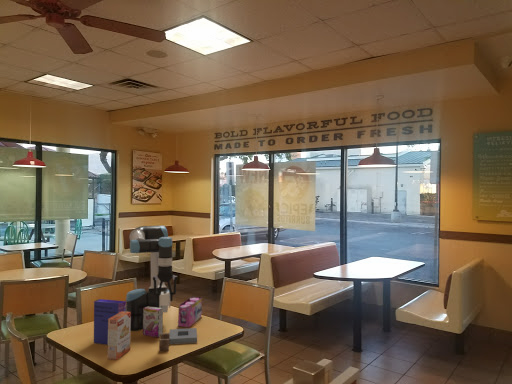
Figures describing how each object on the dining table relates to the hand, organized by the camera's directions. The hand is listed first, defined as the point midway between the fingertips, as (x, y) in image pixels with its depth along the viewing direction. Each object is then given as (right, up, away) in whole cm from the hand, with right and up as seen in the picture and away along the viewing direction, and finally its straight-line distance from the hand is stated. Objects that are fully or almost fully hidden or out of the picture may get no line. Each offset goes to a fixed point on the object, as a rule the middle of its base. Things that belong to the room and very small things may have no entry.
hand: (164, 307), depth 217 cm
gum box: (+7, -23, +45) cm, 50 cm away
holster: (0, -22, 0) cm, 22 cm away
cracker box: (-22, -22, -10) cm, 33 cm away
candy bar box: (-12, -22, +18) cm, 31 cm away
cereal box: (-33, -22, +5) cm, 40 cm away
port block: (+8, -22, +13) cm, 27 cm away
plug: (0, -2, 0) cm, 2 cm away
